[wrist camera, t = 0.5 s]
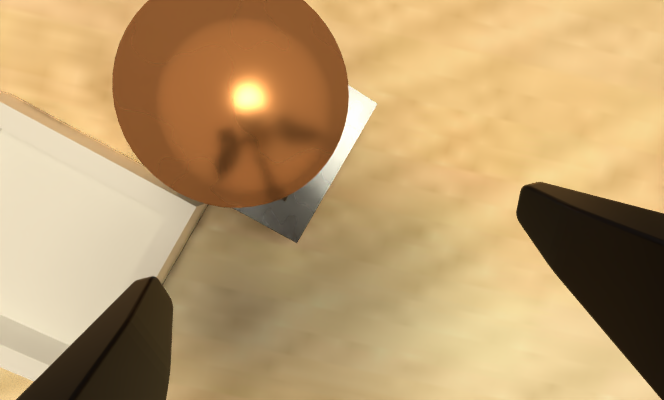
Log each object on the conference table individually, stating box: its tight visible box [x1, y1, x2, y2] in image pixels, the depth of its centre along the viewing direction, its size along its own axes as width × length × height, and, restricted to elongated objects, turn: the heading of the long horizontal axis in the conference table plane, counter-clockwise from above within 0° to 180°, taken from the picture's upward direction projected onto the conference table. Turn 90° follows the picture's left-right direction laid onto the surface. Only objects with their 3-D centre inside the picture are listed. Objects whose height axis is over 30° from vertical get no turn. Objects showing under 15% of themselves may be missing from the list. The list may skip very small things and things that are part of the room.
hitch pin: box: [113, 0, 349, 208], centre depth 15 cm, size 6×6×14 cm
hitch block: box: [234, 85, 377, 243], centre depth 20 cm, size 8×8×5 cm
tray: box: [0, 91, 208, 381], centre depth 20 cm, size 13×13×3 cm
